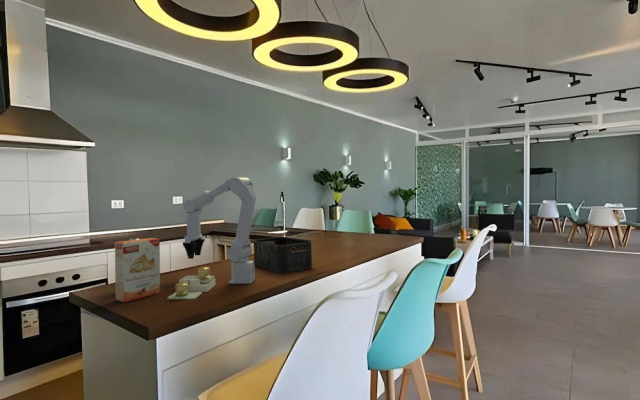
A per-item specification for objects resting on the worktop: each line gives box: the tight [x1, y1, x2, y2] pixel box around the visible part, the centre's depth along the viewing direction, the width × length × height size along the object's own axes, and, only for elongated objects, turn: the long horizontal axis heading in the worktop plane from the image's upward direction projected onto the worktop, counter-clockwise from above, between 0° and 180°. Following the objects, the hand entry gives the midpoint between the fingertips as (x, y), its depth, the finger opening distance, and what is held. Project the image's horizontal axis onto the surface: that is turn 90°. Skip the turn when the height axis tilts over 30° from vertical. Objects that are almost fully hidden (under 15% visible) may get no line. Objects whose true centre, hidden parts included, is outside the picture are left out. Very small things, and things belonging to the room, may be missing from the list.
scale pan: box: [178, 275, 216, 283], centre depth 140 cm, size 12×8×1 cm, turn 88°
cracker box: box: [114, 237, 161, 303], centre depth 128 cm, size 14×6×21 cm, turn 148°
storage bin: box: [253, 236, 313, 274], centre depth 177 cm, size 29×19×13 cm
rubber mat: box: [166, 291, 203, 300], centre depth 129 cm, size 10×7×1 cm
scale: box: [180, 278, 217, 293], centre depth 139 cm, size 12×10×5 cm
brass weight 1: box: [175, 282, 189, 297], centre depth 128 cm, size 4×4×4 cm
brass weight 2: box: [197, 266, 211, 279], centre depth 140 cm, size 4×4×4 cm
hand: (194, 256), depth 155 cm, fingers open, 7 cm apart
